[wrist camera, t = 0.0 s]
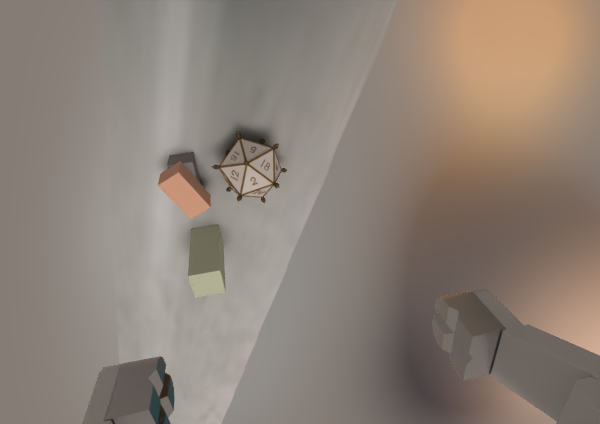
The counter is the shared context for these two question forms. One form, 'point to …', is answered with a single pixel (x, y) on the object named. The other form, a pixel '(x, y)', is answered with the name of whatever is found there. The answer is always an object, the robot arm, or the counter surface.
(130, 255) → the counter surface
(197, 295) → the green block
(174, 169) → the terracotta brick
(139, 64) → the counter surface
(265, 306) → the counter surface
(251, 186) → the game die
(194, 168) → the charcoal brick
